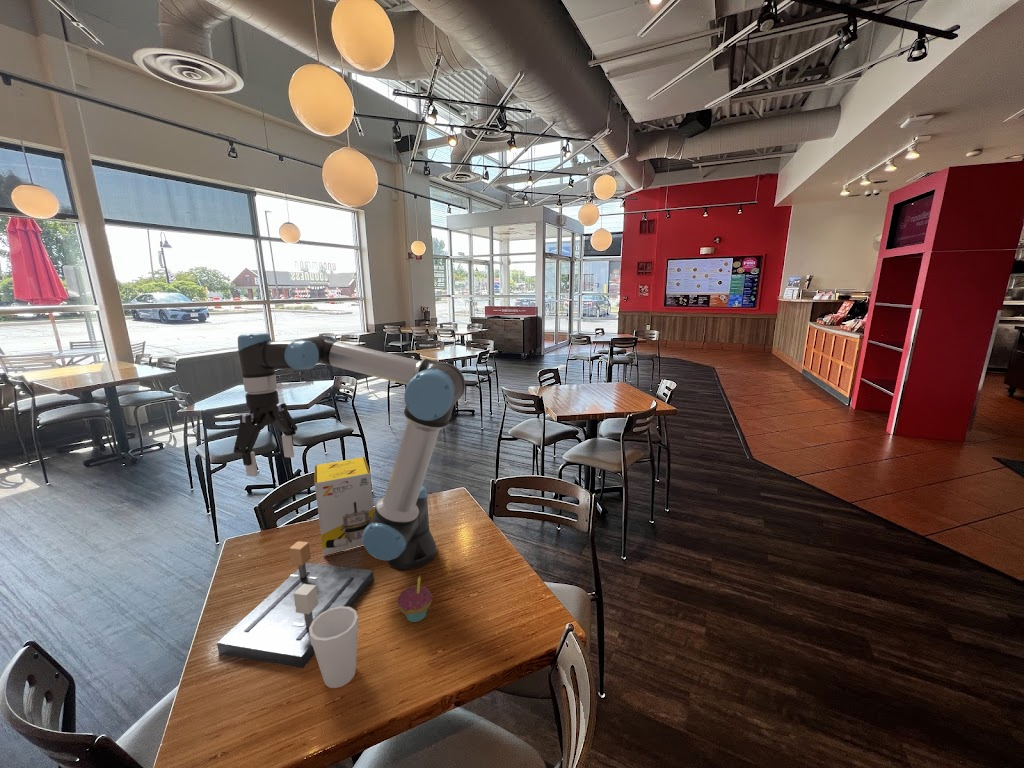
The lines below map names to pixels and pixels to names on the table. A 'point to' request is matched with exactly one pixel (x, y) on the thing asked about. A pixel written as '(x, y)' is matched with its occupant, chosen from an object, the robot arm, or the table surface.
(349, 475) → the packaging box
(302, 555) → the fader orange
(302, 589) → the fader cream
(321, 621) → the foam cup
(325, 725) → the table surface
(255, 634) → the fader console
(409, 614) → the cupcake
